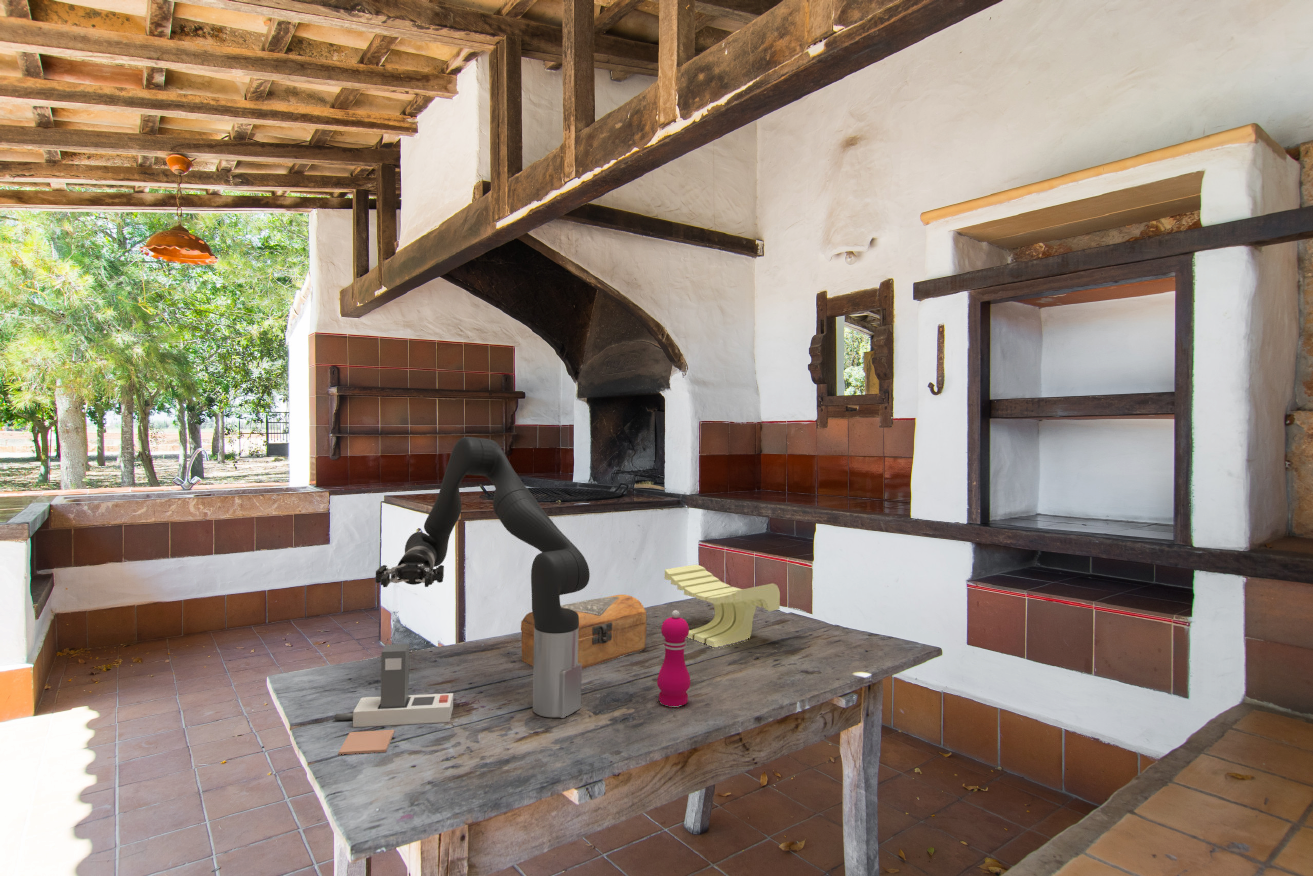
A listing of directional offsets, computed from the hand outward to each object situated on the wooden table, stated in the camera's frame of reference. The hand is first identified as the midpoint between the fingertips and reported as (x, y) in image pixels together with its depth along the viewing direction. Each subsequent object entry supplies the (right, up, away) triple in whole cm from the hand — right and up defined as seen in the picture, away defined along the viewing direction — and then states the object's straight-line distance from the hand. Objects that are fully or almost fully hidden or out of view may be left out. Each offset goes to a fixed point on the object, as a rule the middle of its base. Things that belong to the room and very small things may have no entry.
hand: (405, 582), depth 148 cm
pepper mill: (+58, -26, +1) cm, 63 cm away
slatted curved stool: (+72, -26, +47) cm, 90 cm away
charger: (+2, -23, -10) cm, 25 cm away
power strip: (+1, -25, -10) cm, 27 cm away
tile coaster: (+1, -25, -21) cm, 33 cm away
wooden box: (+36, -25, +29) cm, 53 cm away
